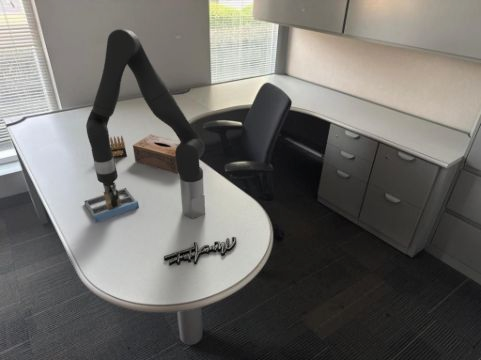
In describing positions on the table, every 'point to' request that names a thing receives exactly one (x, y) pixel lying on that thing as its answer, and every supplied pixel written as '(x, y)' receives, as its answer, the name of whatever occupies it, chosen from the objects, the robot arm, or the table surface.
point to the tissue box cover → (157, 152)
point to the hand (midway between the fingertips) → (113, 203)
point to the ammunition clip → (118, 147)
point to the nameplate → (199, 252)
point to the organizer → (113, 211)
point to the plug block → (108, 201)
